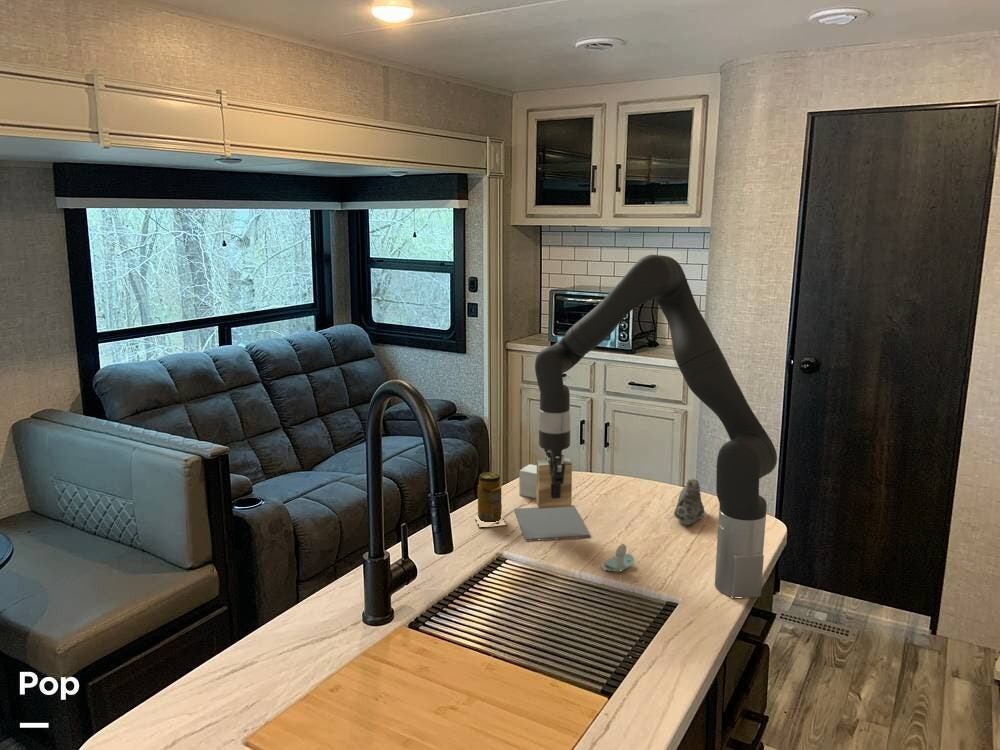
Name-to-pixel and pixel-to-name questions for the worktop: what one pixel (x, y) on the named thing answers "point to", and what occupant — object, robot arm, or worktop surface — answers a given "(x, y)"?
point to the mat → (551, 523)
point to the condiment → (489, 497)
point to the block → (545, 486)
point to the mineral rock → (689, 503)
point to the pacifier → (619, 560)
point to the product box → (528, 481)
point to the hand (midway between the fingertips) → (554, 494)
